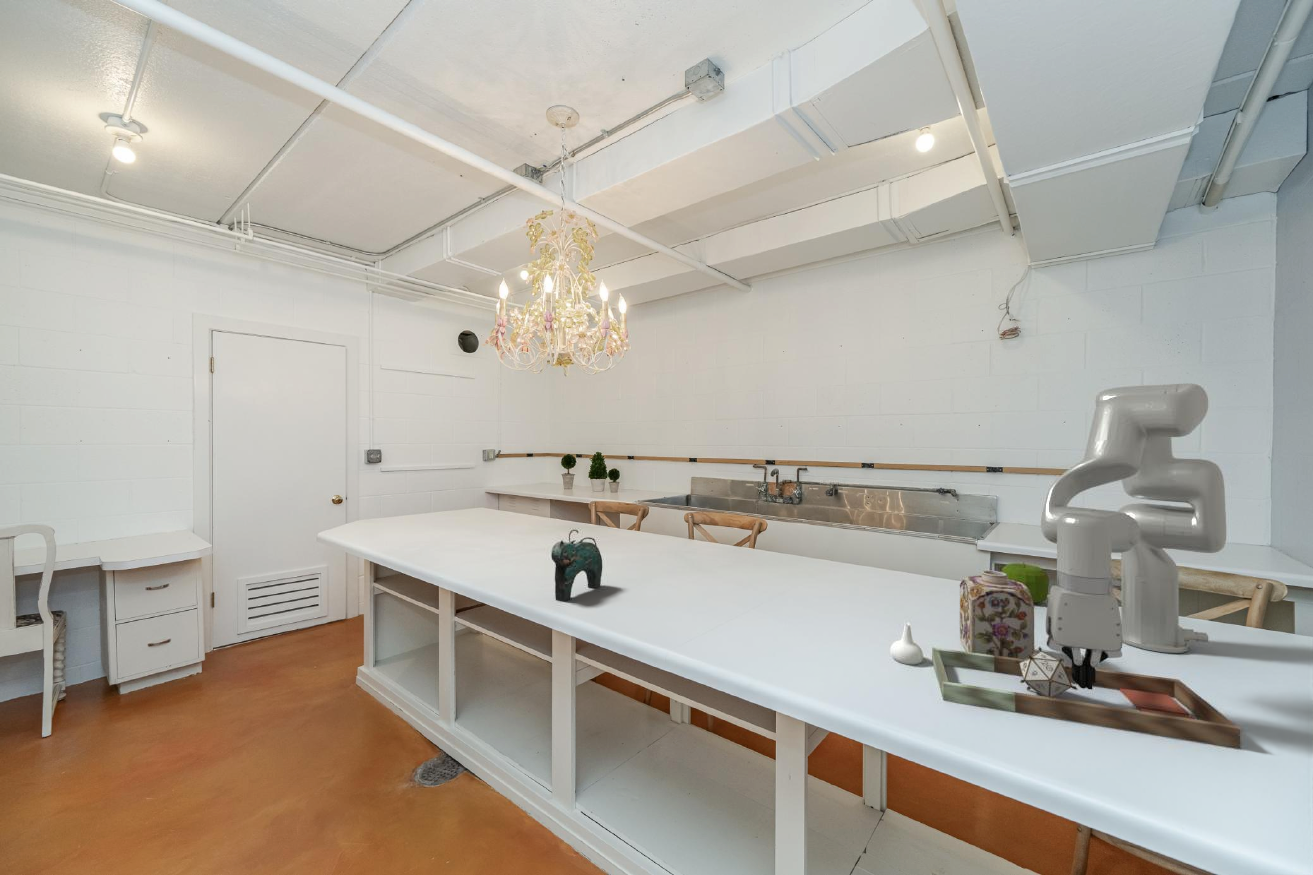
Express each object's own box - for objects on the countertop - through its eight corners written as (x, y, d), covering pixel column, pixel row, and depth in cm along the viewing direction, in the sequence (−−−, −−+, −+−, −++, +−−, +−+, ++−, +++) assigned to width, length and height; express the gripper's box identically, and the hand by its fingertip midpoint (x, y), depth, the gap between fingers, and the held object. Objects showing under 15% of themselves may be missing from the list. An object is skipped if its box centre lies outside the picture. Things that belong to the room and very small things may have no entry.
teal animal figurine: (562, 604, 149) (561, 534, 149) (546, 600, 153) (545, 532, 152) (606, 586, 166) (605, 524, 166) (590, 583, 169) (589, 522, 169)
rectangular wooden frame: (1178, 695, 95) (1178, 679, 95) (1240, 748, 79) (1240, 728, 79) (932, 661, 110) (932, 647, 110) (943, 700, 94) (943, 683, 94)
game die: (1060, 718, 94) (1101, 687, 89) (1018, 706, 94) (1056, 674, 89) (1034, 674, 102) (1069, 643, 97) (995, 662, 101) (1029, 630, 96)
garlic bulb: (891, 665, 110) (891, 629, 109) (889, 650, 116) (889, 616, 115) (924, 670, 108) (924, 633, 107) (921, 655, 113) (921, 620, 113)
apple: (1006, 604, 146) (1006, 565, 146) (997, 593, 156) (996, 556, 156) (1054, 608, 142) (1054, 568, 142) (1041, 596, 152) (1041, 559, 152)
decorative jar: (969, 662, 110) (969, 577, 110) (958, 641, 121) (958, 564, 121) (1036, 670, 106) (1036, 582, 105) (1019, 648, 117) (1018, 568, 116)
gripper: (1125, 581, 94) (1125, 683, 94) (1027, 574, 99) (1027, 670, 99) (1147, 593, 87) (1147, 703, 87) (1040, 584, 92) (1040, 688, 92)
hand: (1083, 685), depth 93 cm, fingers closed
